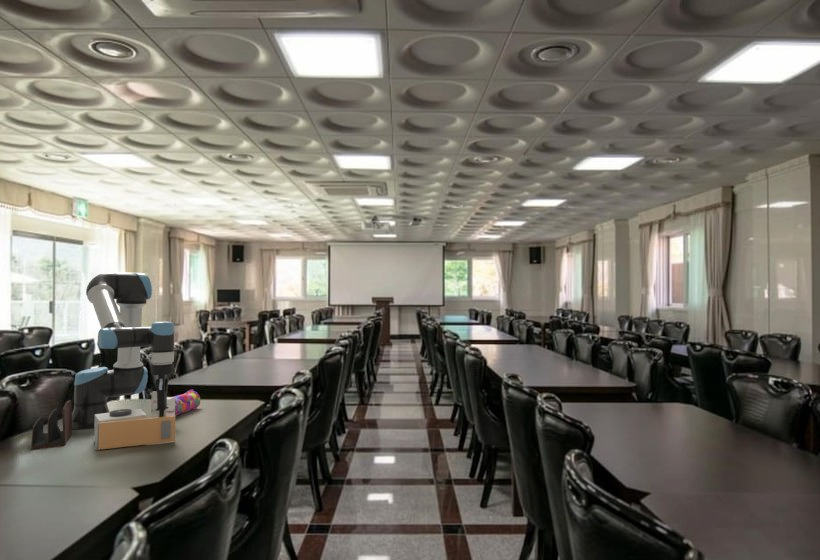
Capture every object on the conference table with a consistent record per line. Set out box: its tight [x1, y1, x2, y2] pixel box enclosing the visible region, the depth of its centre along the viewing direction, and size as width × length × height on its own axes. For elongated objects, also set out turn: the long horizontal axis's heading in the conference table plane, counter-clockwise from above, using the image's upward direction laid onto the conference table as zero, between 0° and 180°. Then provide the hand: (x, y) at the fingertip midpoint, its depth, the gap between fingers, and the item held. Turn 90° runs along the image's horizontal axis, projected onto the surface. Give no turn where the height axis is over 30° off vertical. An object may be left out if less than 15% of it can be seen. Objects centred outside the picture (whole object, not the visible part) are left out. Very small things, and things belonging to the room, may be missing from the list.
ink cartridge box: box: [150, 390, 176, 418], centre depth 204 cm, size 9×5×15 cm, turn 68°
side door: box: [94, 416, 176, 451], centre depth 176 cm, size 2×25×9 cm, turn 114°
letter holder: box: [30, 399, 73, 450], centre depth 184 cm, size 10×20×14 cm, turn 28°
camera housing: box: [93, 408, 148, 443], centre depth 182 cm, size 13×15×11 cm
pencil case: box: [171, 389, 201, 417], centre depth 229 cm, size 22×9×9 cm, turn 177°
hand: (161, 427), depth 182 cm, fingers closed
